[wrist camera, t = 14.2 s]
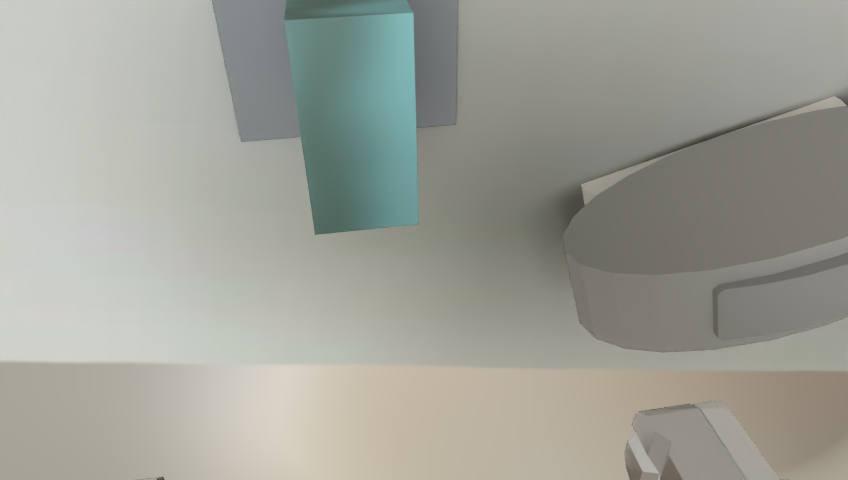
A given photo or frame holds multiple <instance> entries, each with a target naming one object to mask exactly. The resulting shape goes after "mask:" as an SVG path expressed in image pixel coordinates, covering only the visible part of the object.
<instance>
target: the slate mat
mask: <svg viewBox="0 0 848 480" xmlns="http://www.w3.org/2000/svg"><path fill="white" fill-rule="evenodd" d="M407 2H408V4H409V5H410V7H411V9H412V11H413V19H414V59H415V99H416V128H421V127H434V126H446V125H456V95H457V39H458V0H407ZM212 3H213V8H214V13H215V18H216V23H217V27H218V32H219V37H220V42H221V47H222V52H223V57H224V61H225V66H226V71H227V76H228V81H229V86H230V91H231V95H232V100H233V105H234V110H235V115H236V120H237V125H238V129H239V134H240V139H241V142H246V141H258V140H271V139H283V138H296V137H301V133H300V126H299V119H298V112H297V105H296V98H295V92H294V85H293V78H292V71H291V64H290V57H289V50H288V43H287V36H286V29H285V23H284V18H285V8H286V0H212Z"/></svg>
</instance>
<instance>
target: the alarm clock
mask: <svg viewBox="0 0 848 480" xmlns="http://www.w3.org/2000/svg"><path fill="white" fill-rule="evenodd" d="M581 188H582V193H583V199H584V205H585V206H584V207H583V208H582V209H581V210H580V211H579V212H578V213H576V214H575V215H574V217H573V218H572V220H571V222H570V223H569V225H568V227H567V229H566V230H565V232H564V234H563V241H564V250H565V255H566V260H567V265H568V270H569V274H570V279H571V284H572V288H573V293H574V298H575V303H576V307H577V312H578V317H579V321H580V324H581V325H582V326H583V327H584V328H585V329H587V330H588V331H589V332H590V333H591V334H592V335H593V336H594V337H595V338H596V339H598V340H601V341H604V342H607V343H610V344H613V345H616V346H619V347H622V348H626V349H636V350H646V351H656V352H679V351H699V350H715V349H721V348H727V347H733V346H739V345H745V344H751V343H757V342H763V341H769V340H773V339H777V338H780V337H784V336H788V335H791V334H795V333H799V332H802V331H806V330H809V329H813V328H817V327H820V326H824V325H827V324H830V323H832V322H835V321H838V320H840V319H843V318H845V317H848V106H847V105H846V104H845V103H844V102H843V101H842V100H841V99H839V98H837V97H835V96H833V97H830V98H827V99H824V100H821V101H819V102H816V103H813V104H810V105H807V106H804V107H801V108H798V109H796V110H793V111H790V112H787V113H784V114H781V115H778V116H775V117H773V118H770V119H767V120H764V121H761V122H758V123H755V124H752V125H750V126H747V127H744V128H741V129H738V130H735V131H732V132H729V133H727V134H724V135H721V136H718V137H715V138H712V139H709V140H706V141H704V142H701V143H698V144H695V145H692V146H689V147H686V148H683V149H681V150H678V151H675V152H672V153H669V154H666V155H663V156H660V157H658V158H655V159H652V160H649V161H646V162H643V163H640V164H637V165H635V166H632V167H629V168H626V169H623V170H620V171H617V172H614V173H612V174H609V175H606V176H603V177H600V178H597V179H594V180H591V181H589V182H586V183H583V184H581Z"/></svg>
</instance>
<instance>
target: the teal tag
mask: <svg viewBox="0 0 848 480" xmlns="http://www.w3.org/2000/svg"><path fill="white" fill-rule="evenodd" d="M284 23H285V29H286V36H287V43H288V50H289V57H290V64H291V71H292V78H293V85H294V92H295V98H296V105H297V112H298V119H299V126H300V133H301V140H302V147H303V154H304V161H305V167H306V174H307V181H308V188H309V195H310V202H311V209H312V216H313V223H314V230H315V235H316V234H326V233H336V232H346V231H356V230H366V229H376V228H386V227H396V226H406V225H416V224H419V219H418V179H417V139H416V99H415V59H414V19H413V11H412V9H411V7H410V5H409V4H408V2H407V0H286V8H285V18H284Z"/></svg>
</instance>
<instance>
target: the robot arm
mask: <svg viewBox="0 0 848 480" xmlns="http://www.w3.org/2000/svg"><path fill="white" fill-rule="evenodd" d="M632 426H633V428H634V430H635V432H636V433H635V434H634V435H633V436H632V437H631V438H629V439H628V441H627V444H626V449H625V462H626V469H627V472H628V475H629V478H630V480H779V478H778V477H777V476H776V474H775V473H774V471H773V470H772V469H771V467H770V466H769V464H768V463H767V462H766V460H765V459H764V458H763V456H762V454H761V453H760V452H759V450H758V449H757V447H756V446H755V445H754V443H753V442H752V440H751V439H750V438H749V436H748V435H747V434H746V432H745V431H744V429H743V428H742V426H741V425H740V424H739V422H738V421H737V419H736V418H735V417H734V415H733V414H732V412H731V411H730V409H729V408H728V407H727V405H725V404H724V403H723V402H721V401H710V402H703V403H698V404H684V405H677V406H671V407H664V408H658V409H651V410H645V411H639V412H638V413H637V414H636V415H635V416H634V419H633V422H632ZM139 480H164V477H155V478H147V479H139ZM782 480H788V479H782Z"/></svg>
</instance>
